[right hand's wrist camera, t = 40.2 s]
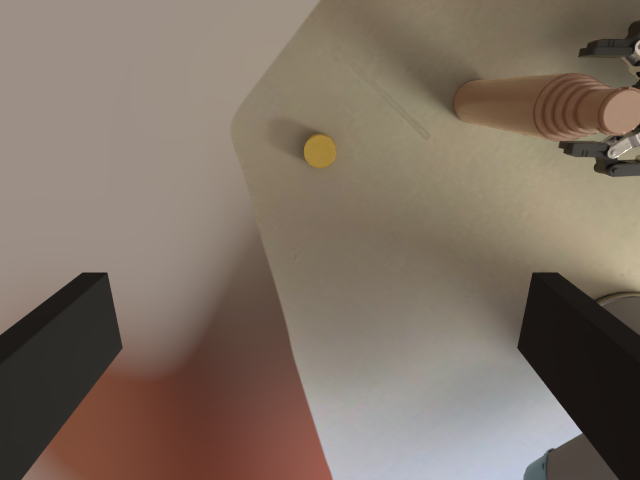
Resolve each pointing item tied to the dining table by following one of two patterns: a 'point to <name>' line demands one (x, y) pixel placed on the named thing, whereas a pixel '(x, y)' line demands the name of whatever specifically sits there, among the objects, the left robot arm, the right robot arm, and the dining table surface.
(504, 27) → the dining table surface
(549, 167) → the dining table surface
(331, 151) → the cap
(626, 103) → the bottle
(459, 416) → the dining table surface
